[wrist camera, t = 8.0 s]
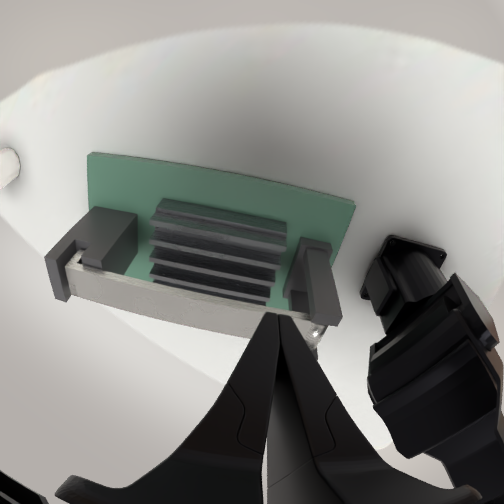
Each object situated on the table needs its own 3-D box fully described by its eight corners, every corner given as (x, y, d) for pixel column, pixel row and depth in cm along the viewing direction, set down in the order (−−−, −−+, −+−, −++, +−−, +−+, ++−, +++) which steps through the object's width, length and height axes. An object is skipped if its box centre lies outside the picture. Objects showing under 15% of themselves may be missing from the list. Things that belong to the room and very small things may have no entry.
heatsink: (286, 222, 21) (288, 243, 19) (264, 294, 25) (263, 318, 23) (163, 198, 21) (149, 215, 18) (160, 273, 25) (149, 295, 22)
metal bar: (326, 301, 19) (330, 328, 17) (314, 326, 20) (316, 352, 18) (79, 249, 18) (62, 269, 16) (84, 276, 19) (69, 297, 17)
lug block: (137, 213, 22) (93, 270, 16) (137, 252, 24) (101, 313, 18) (94, 206, 21) (44, 257, 15) (97, 243, 23) (55, 298, 17)
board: (353, 201, 21) (356, 206, 20) (307, 313, 27) (308, 319, 27) (92, 152, 20) (87, 155, 19) (100, 269, 26) (96, 274, 25)
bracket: (330, 243, 22) (350, 315, 16) (309, 294, 25) (318, 368, 19) (300, 236, 22) (310, 309, 16) (282, 289, 25) (283, 363, 18)
